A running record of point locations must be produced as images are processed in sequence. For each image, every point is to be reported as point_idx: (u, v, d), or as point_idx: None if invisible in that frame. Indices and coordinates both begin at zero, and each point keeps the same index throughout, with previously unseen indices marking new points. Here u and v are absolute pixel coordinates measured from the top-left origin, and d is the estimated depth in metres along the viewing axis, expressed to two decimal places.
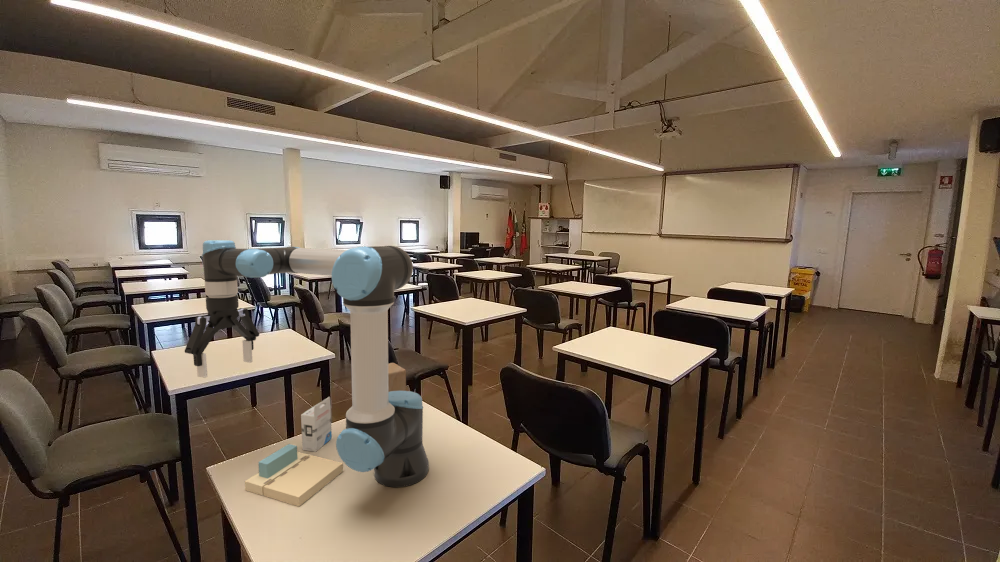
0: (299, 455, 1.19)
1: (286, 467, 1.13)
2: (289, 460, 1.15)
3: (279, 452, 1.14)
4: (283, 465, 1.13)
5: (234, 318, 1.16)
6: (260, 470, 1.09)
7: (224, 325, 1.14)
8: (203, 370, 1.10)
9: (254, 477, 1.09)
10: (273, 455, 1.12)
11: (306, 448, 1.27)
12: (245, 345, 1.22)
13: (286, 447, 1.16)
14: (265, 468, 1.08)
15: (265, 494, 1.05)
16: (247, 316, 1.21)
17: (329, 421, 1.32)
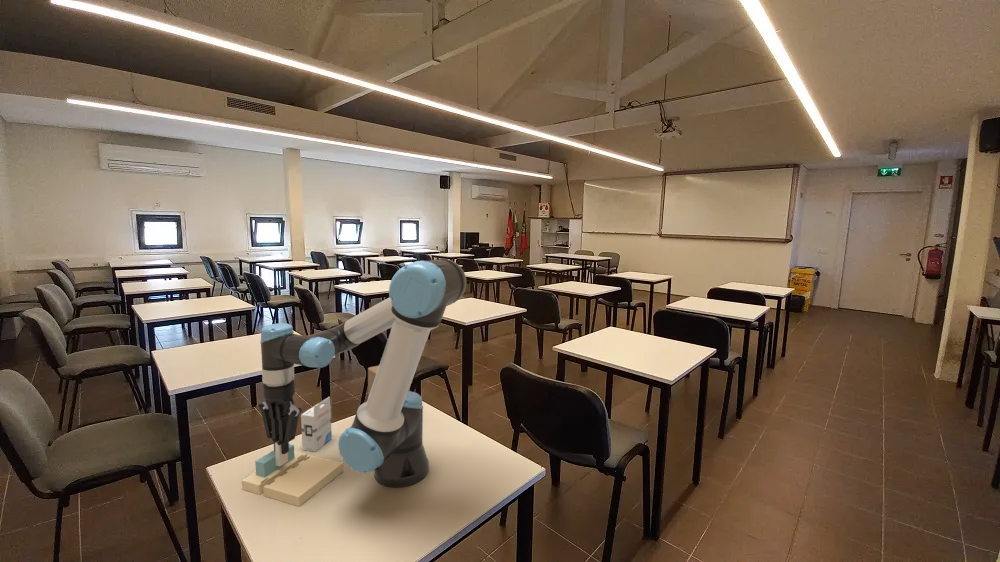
0: (296, 455, 1.20)
1: (283, 467, 1.14)
2: None
3: None
4: None
5: (279, 409, 1.08)
6: (257, 469, 1.09)
7: (274, 412, 1.10)
8: None
9: (251, 476, 1.09)
10: (270, 454, 1.12)
11: (306, 448, 1.27)
12: None
13: None
14: (262, 467, 1.09)
15: (265, 494, 1.05)
16: (290, 418, 1.09)
17: (329, 421, 1.32)
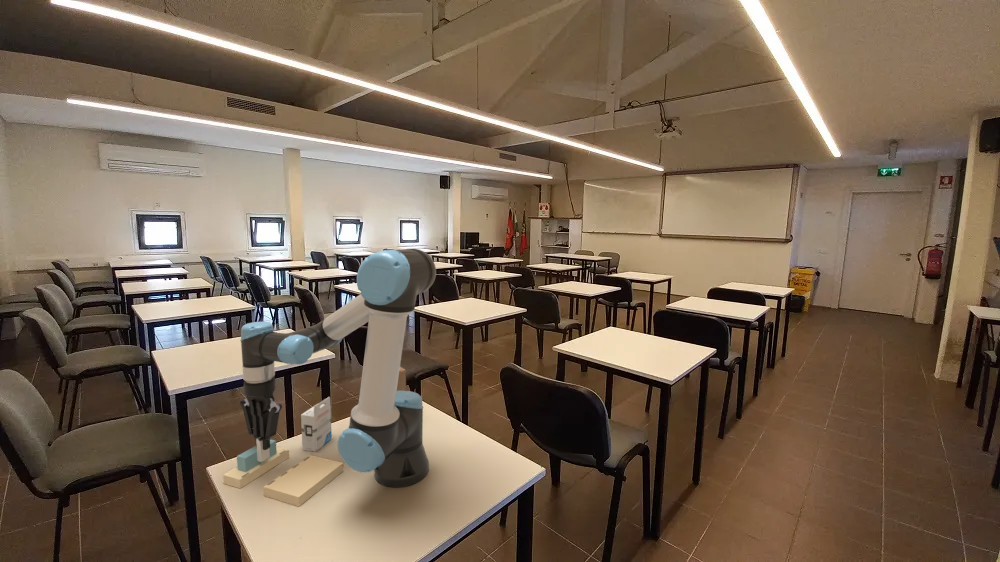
0: (278, 450, 1.22)
1: (265, 462, 1.16)
2: None
3: None
4: None
5: (259, 405, 1.11)
6: (238, 464, 1.11)
7: (255, 408, 1.12)
8: None
9: (232, 471, 1.11)
10: (252, 449, 1.15)
11: (306, 448, 1.27)
12: None
13: None
14: (243, 462, 1.11)
15: (265, 494, 1.05)
16: (270, 414, 1.11)
17: (329, 421, 1.32)
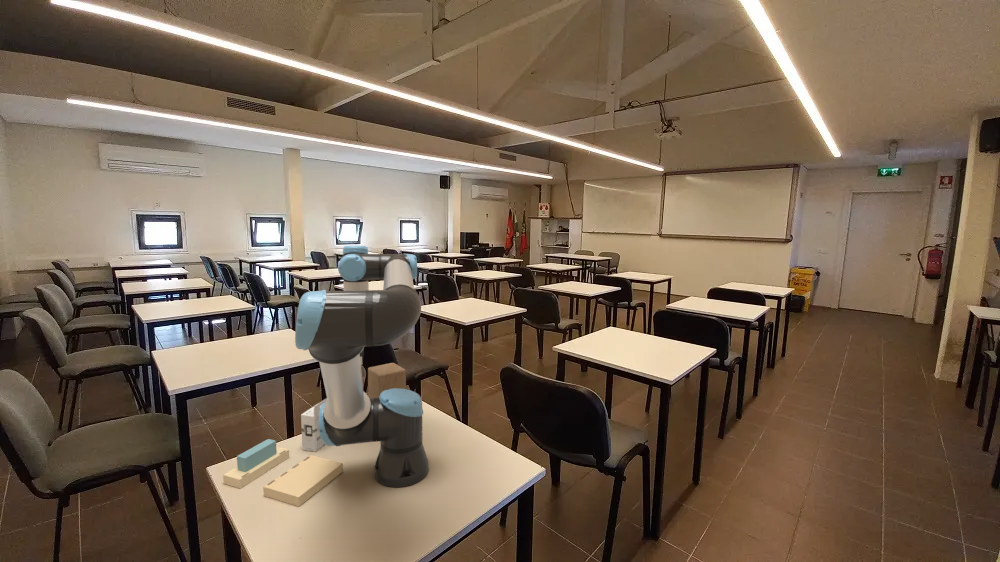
0: (278, 450, 1.22)
1: (265, 462, 1.16)
2: (267, 454, 1.17)
3: (258, 446, 1.16)
4: (262, 459, 1.16)
5: None
6: (238, 464, 1.11)
7: None
8: None
9: (232, 471, 1.11)
10: (252, 449, 1.15)
11: (306, 448, 1.27)
12: None
13: (265, 442, 1.19)
14: (243, 462, 1.11)
15: (265, 494, 1.05)
16: None
17: None
